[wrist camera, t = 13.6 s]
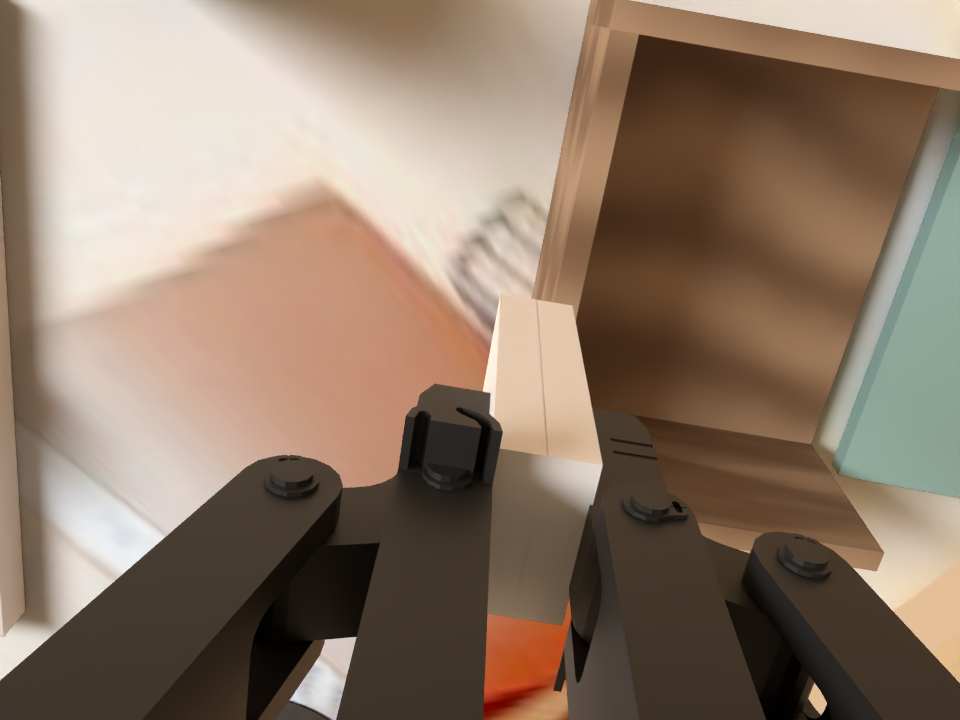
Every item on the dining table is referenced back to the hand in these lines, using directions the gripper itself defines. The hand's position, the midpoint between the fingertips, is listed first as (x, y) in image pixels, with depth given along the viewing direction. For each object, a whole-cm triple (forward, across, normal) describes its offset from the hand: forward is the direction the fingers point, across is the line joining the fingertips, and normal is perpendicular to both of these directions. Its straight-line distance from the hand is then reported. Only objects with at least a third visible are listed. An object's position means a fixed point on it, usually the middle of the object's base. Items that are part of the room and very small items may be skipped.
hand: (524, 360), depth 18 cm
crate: (+26, -11, +3) cm, 29 cm away
